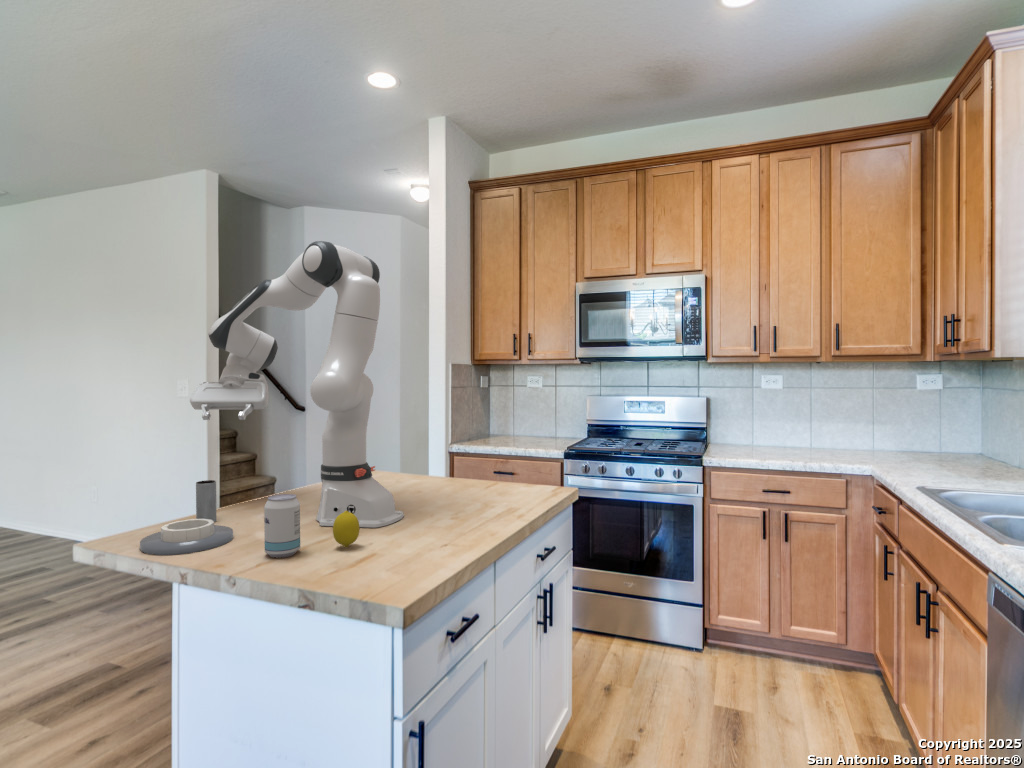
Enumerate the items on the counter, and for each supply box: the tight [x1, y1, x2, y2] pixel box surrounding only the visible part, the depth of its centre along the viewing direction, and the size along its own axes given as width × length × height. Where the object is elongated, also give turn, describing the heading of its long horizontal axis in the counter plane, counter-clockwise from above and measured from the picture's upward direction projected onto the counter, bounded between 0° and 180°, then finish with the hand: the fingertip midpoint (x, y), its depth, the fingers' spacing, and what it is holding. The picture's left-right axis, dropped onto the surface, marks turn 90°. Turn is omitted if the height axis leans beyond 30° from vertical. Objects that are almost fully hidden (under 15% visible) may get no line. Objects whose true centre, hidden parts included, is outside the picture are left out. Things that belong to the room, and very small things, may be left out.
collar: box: [139, 518, 234, 556], centre depth 126 cm, size 18×18×4 cm
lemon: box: [332, 511, 360, 548], centre depth 122 cm, size 6×6×8 cm
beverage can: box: [263, 493, 301, 559], centre depth 117 cm, size 7×7×12 cm
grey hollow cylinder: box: [195, 479, 218, 523], centre depth 144 cm, size 4×4×10 cm
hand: (223, 418), depth 155 cm, fingers open, 8 cm apart
